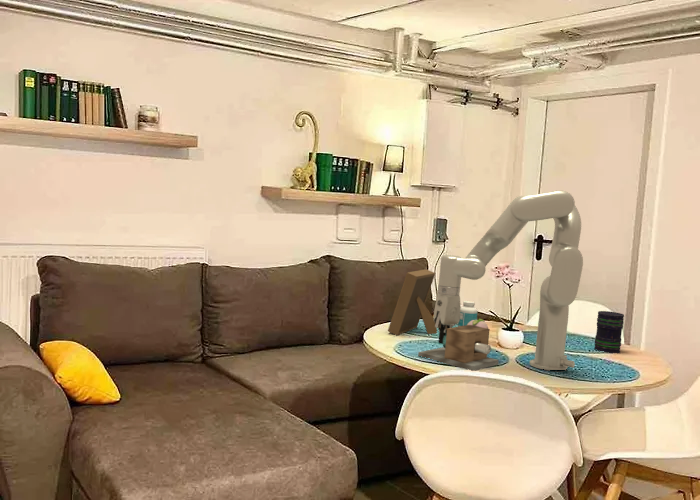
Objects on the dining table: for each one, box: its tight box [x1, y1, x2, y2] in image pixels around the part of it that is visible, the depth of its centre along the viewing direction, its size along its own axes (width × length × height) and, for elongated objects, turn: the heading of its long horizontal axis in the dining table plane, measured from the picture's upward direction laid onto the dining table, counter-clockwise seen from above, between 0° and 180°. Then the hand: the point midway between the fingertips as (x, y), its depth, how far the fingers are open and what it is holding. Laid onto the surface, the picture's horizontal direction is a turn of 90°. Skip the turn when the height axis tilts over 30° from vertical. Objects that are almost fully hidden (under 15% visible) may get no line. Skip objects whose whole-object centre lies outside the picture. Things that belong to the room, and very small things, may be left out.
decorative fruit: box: [467, 316, 489, 329], centre depth 273 cm, size 9×8×10 cm
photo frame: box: [387, 268, 438, 336], centre depth 282 cm, size 15×22×25 cm
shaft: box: [442, 333, 492, 355], centre depth 237 cm, size 16×6×6 cm, turn 49°
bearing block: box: [417, 325, 499, 371], centre depth 239 cm, size 22×16×12 cm
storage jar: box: [594, 310, 625, 354], centre depth 277 cm, size 10×10×15 cm
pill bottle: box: [457, 300, 478, 327], centre depth 288 cm, size 8×7×14 cm
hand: (443, 343), depth 243 cm, fingers closed
